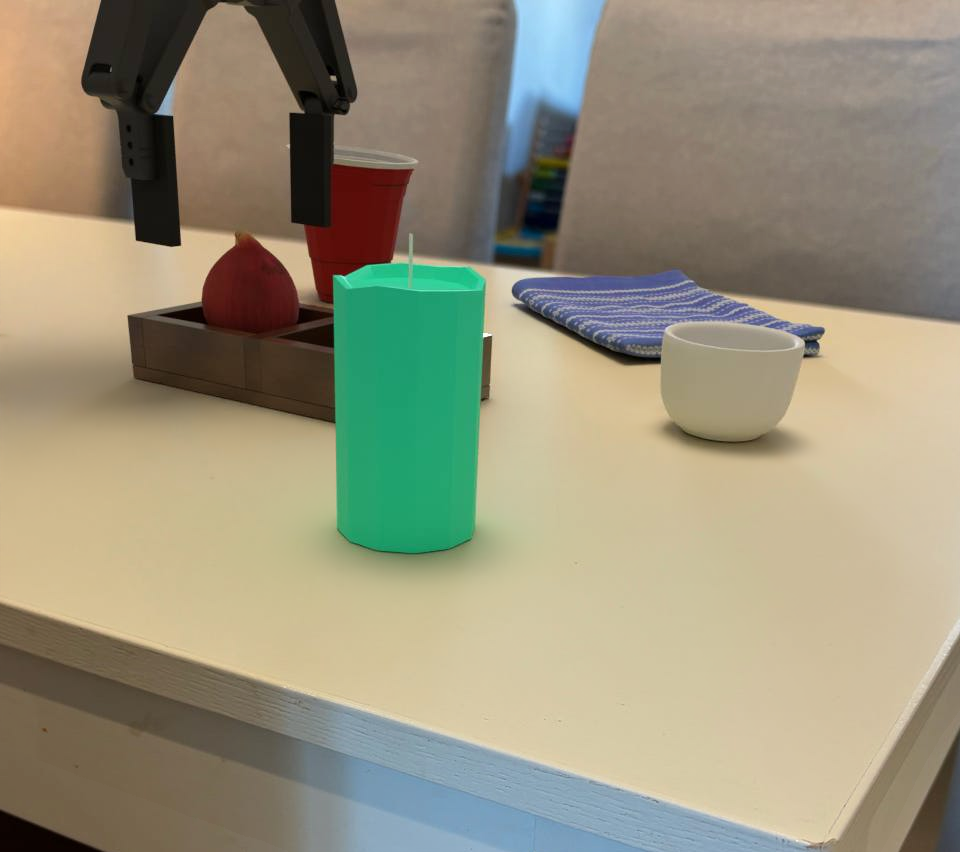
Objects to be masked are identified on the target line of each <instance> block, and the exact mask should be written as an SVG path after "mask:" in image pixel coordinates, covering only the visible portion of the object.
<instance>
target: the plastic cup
mask: <svg viewBox="0 0 960 852" xmlns="http://www.w3.org/2000/svg"><path fill="white" fill-rule="evenodd" d="M285 149H286V152H287V154H288V155H290V143H289V144H285ZM333 151H334V162H333V167H332V169H331V227H326V228H323V227H316V226H310V225H303V228H304V234H305V240H306V245H307V246H306V248H307V252H308V253H307V254H308V257H309V258H310V263H311V269H312V276H313V280H314V287H315V290H316V292H317V296H318V299H319V300H320V301H323V302H326V303H332V304H334V297H333V275H341V276H343V277H344V276H346V275H348V274H350V273H352V272H354V271H356V270H358V269H360V268H362V267H364V266H366V265H376V264H389V263H392V261H393V260H394V255H395V248H396V243H397V237H398V232H399V225H400V220H401V215H402V209H403V204H404V198H405V197H406V193H407V189H408V185H409V183H410V180H411V176H412V175H413V172H414V171H415V170H414V169H416V168H418V165H419V162H420V161H419V160H417V159H416V158H414V157H410V156H407V155H403V154H398V153H394V152H388V151H384V150H383V151H382V150H376V149H371V148H363V147H355V146H347V145H346V146H345V145H336V144H334V150H333Z"/></svg>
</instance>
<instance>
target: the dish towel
mask: <svg viewBox="0 0 960 852" xmlns="http://www.w3.org/2000/svg"><path fill="white" fill-rule="evenodd" d="M511 294H512V297H513V298H514V299H516V300H517V301H519V302H521V303H522V304H525V305H526V306H527V307H528V308H529V309H531V310H532V311H534V312H536V313H538V314H540V315H541V316H542V317H544V318H546V319H550V320H552V321H553V322H555V324H558V325H561V326H563V327H565V328H567V329H568V330H570V331H572V332H574V333H576V334H578V335H579V336H581V337H583V338H585V339H587V340H588V341H591V342H593V343H595V344H596V345H600V346H603V347H604V348H607V349H609V350H611V351H613V352H617V353H622V354H626V355H629V356H633V357H638V358H639V357H640V358H656V359H657V358H660V359H661V352H662V341H663V336H664V332H665V329H666V328H667V327H668V326H670V325H674V324H678V323H685V322H730V323H740V324H749V325H756V326H762V327H767V328H772V329H777V330H781V331H784V332H788V333H791V334H793V335H796V336H798V337H800V338H801V339H803V340H804V342H805V350H804V355H803V356H816V355H817V356H818V355H819V354H820V350H821V347H820V343H819V342H818V341H819V340H821V339H822V338H823V336H824V335H825V332H826V329H825V327H823V326H815V325H812V324H809V323H803V322H802V323H794V322H790V321H789V320H787V319H786V320H785V319H780V318H778V317H775V316H773V315H772V314H770V313H768V312H766V311H762V310H760V309H756V308H755V307H754V306H752V305H749V303H745V302H739V301H738V300H735V299H733V298H729V297H725V296H724V295H723V294H721V293H714V292H711V291H710V290H709V289H707V288H704V287H701V286H699V285H698V284H697V283H696V282H695V280H692V279H691V278H690V277H688V276H686V275H685V274H684V273H683V272H682V271H681V270H680V269H672V270H666V271H665V272H660V273H656V274H646V275H638V276H614V275H592V276H585V277H578V276H576V277H575V276H543V277H541V276H540V277H527V278H522V279H519V280H518V281H516V282H514V284H513V285H512V287H511Z"/></svg>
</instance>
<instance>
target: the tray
mask: <svg viewBox="0 0 960 852" xmlns="http://www.w3.org/2000/svg"><path fill="white" fill-rule="evenodd" d="M126 316H127V327H128V328H127V329H128V337H129V345H130V358H131V365H132V367H131V368H132V375H133V378H134V379H139V380H143V381H147V382H152V383H157V384H161V385H166V386H169V387H170V386H171V387H175V388H179V389H184V390H188V391H192V392H196V393H201V394H205V395H211V396H214V397H215V396H216V397H219V398H224V399H229V400H233V401H237V402H242V403H247V404H250V405H251V404H252V405H255V406H260V407H265V408H269V409H273V410H277V411H283V412H288V413H290V414H291V413H292V414H295V415H301V416H305V417H310V418H312V419H313V418H314V419H319V420H323V421H327V422H331V423H332V422H333V423H335V360H334V307H327V306H321V305H320V306H319V305H315V304H308V303H304V302H303V303H302V302H299V316H298V321H297V323H296V325H294V326H290V327H286V328H281V329H277V330H273V331H269V332H264V333H260V334H254V333H249V332H243V331H238V330H232V329H227V328H222V327H216V326H211V325H209V324H208V323H207V321H206V319H205V317H204V313H203V307H202V300H201V301H196V302H190V303H186V304H180V305H174V306H170V307H163V308H158V309H153V310H149V311H143V312H138V313H132V314H127V315H126ZM492 350H493V334H490V333H489V334H488V333H484V335H483V358H482V380H481V399H483V398H486V399H488V398H487V397H489V398H490V395H491V393H490V392H491V374H492V373H491V371H492V353H493V352H492ZM483 400H484V399H483Z"/></svg>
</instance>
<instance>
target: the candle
mask: <svg viewBox="0 0 960 852" xmlns="http://www.w3.org/2000/svg"><path fill="white" fill-rule="evenodd" d="M408 234H409V235H408V262H403V261H402V262H401V261H400V262H393V263H392V262H391V263H389V264H376V265H366V266H364V267H362V268H360V269H358V270H356V271H354V272H352V273H350V274H348V275H346V276H344V277H343V276H341V275H333V297H334V303H333V309H334V360H335V422H334V423H335V477H336V480H335V481H336V486H335V487H336V529H337V530H338V531H339V532H340V533H341V534H342V535H343V536H344V537H345V539H346V540H347V541H348V542H349V543H354V544H355V545H359V546H363V547H365V548H369V549H372V550H374V551H379V552H392V553H405V554H420V553H427V552H435V551H442V550H451V549H452V548H454V547H456V546H458V545H461V544H462V543H465V542H467V541H469V540H471V539H473V534H474V531H475V527H476V513H477V510H476V509H477V491H478V490H477V489H478V470H479V469H478V466H479V463H478V462H479V448H480V447H479V445H480V444H479V443H480V426H481V425H480V424H481V423H480V421H481V403H482V400H481V380H482V358H483V335H484V334H485V311H486V288H487V287H486V286H487V279H486V278H485V277H483V276H482V275H481V274H480V273H479V272H477V271H476V270H475V269H474V268H473V267H472V266H459V265H458V266H457V265H456V266H454V265H453V266H452V265H451V266H449V265H433V264H422V263H414V262H413V261H414V234H413V233H408Z"/></svg>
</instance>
